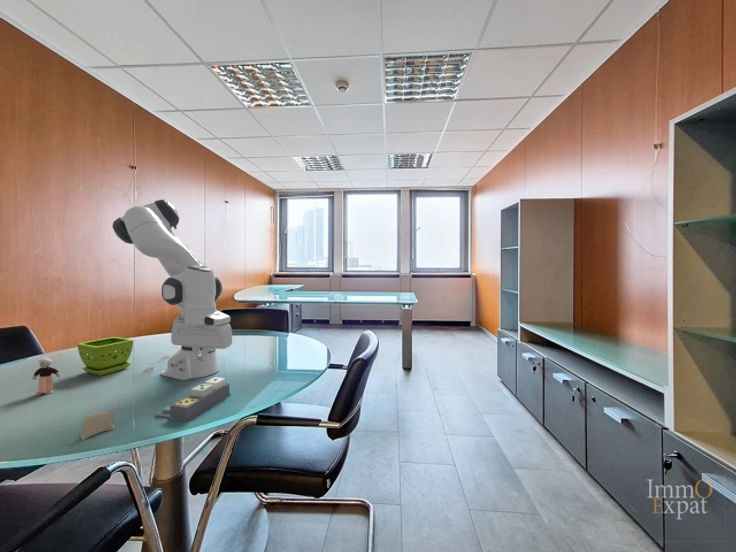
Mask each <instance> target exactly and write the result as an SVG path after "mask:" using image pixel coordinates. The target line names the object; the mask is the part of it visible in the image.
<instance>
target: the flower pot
mask: <svg viewBox="0 0 736 552" xmlns="http://www.w3.org/2000/svg"><path fill="white" fill-rule="evenodd" d="M133 347H134V339H131V338H125V337H119V336H118V337H117V336H111V337H105V338H100V339H95V340H89V341H88V340H87V341H84V342H80V343H77V350H78V354H79V358H80V360H81V362H83V364H84V366H83V367H82V368H81V369H82V370H83V371H84V372H86V373H89V374H93V375H97V376H103V375H104V376H105V375H109V374H111V373H114V372H119V371H122V370H126V369H127V368H129V366H131V362H128V360H129V358H130V356H131V354H132V352H133Z"/></svg>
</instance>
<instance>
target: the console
mask: <svg viewBox="0 0 736 552" xmlns="http://www.w3.org/2000/svg"><path fill="white" fill-rule="evenodd" d="M230 390H231V389H230V383H228V382H226V385H224V386H223V387H221V388H219V389H217V390H214V389H213V392H212V393H210V394H209V395H207V396H205V397H203V398H200V397H193V396H191V394H189V395H187V396H185V397H183V398H182V399H180V400H178V401H176V402H174V403H172V404H170V405H168V406H166V407H164V408H163V409H162V411H160V412H158V413H157V414H155V416H154V417H157V418H164V419H170V420H178V421H183V422H190V421H192V420H193V419H195V418H197V417H198V416H200V415H201V414H203V413H205V412H206V411H208V410H210V409H212V407H214V406H216V405H217V404H218V403H220V402H222V401H224V400H225V399H227V398H228V397H230V396H231V395H232V393H231V392H230ZM185 398H193V399H199V400H198V401H196V402H195V403H193V404H191V405H189V406H187V407H185V406H178V405H175V404H176V403H178V402H180V401H182V400H183V399H185Z"/></svg>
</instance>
